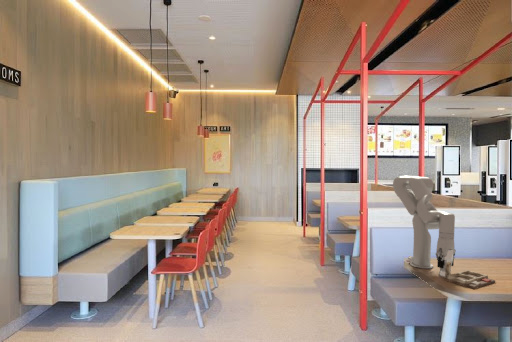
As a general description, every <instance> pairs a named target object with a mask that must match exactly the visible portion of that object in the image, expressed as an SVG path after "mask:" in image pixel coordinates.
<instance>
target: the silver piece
mask: <svg viewBox="0 0 512 342" xmlns="http://www.w3.org/2000/svg"><path fill="white" fill-rule="evenodd" d="M441 255H443V254H442V252H441ZM440 257H441V256H440ZM441 258H442V257H441ZM443 261H444V268H439V272H438V276H440V277H442V278H446V276H447V275H451V274H452V271H451V270H452V267H453V266H452V261H453V249H452V250H448V252H447V256H446V257H444V259H443Z"/></svg>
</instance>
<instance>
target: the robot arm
mask: <svg viewBox="0 0 512 342" xmlns="http://www.w3.org/2000/svg"><path fill="white" fill-rule="evenodd" d="M392 187H393V191H394V193H395V194H396V196H397V197H398V198H399V200H400V201H401V202H402V204H403V206H404V208H405V209H406V211H407V213H408V214H409V215H410V216H412V223H411V224H412V227H413V229H412V230H413V247H412V248H413V250H412V251H413V256H411V255H408V257H407V260H409V261H410V262H409V264H410V266H411V267H415V268H418V269H433V268H434V265H433V264H432V263H431V254H432V253H431V250H432V248H431V247H432V236H431V234H430V232H429V230H438V238H437V242H436V252H435V257H436V260H437V267H436V268H439V269H440V268H444V261H443V259H444V257H446V256H447V252H448V250H452V249H453V261H452V266H451V267H454V261H455V260H454V259H455V256H456V249H455V228H456V227H455V223H456V221H455V220H456V216H455V214H454V213H452V212H446V211H444V210H437V208H436V207H435V206H434V204H433V203H432V202H431V200H432V199H433V194H432V192H431V191H432V190H433V189H434V181H433V179H432V178H430V177H428V176H418V175H401V176H399V175H398V176H396V177H395V178H394V179H393V182H392ZM410 190H411V191H410ZM441 252H442V254H443V255H441ZM440 256H441V257H442V258H441V257H440Z"/></svg>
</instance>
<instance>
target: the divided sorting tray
mask: <svg viewBox="0 0 512 342" xmlns="http://www.w3.org/2000/svg"><path fill="white" fill-rule="evenodd" d="M444 281H446V282H450V283H453V284H457V285H459V286H463V287H467V288H470V289H473V290H475V289H478V288H483V287H485V286H488V285H492V284H495V283H496V280H495V279H492V278H489V275H488V274H483V273H480V272H476V271H471V270H464V271H459V272H456V273H451V275H447V276H446V277H444Z"/></svg>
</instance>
